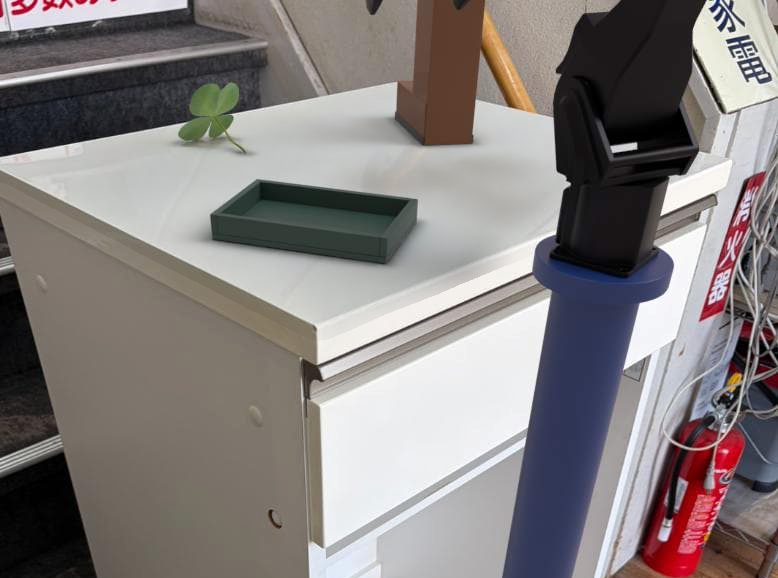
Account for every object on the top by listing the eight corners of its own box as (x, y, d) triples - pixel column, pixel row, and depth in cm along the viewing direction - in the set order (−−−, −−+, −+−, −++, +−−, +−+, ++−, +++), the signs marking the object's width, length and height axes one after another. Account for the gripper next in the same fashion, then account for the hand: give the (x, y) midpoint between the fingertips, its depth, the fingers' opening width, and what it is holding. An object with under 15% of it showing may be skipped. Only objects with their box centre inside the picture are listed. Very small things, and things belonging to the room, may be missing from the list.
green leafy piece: (227, 196, 90) (193, 151, 91) (283, 145, 89) (248, 100, 90) (199, 168, 83) (163, 120, 84) (259, 113, 82) (221, 64, 82)
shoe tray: (416, 222, 72) (418, 198, 70) (386, 264, 64) (387, 238, 63) (258, 202, 75) (256, 178, 73) (212, 239, 67) (209, 214, 66)
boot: (473, 143, 91) (488, -9, 82) (422, 145, 90) (432, -9, 81) (441, 116, 99) (451, -24, 90) (394, 118, 98) (400, -24, 89)
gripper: (529, -248, 68) (461, -54, 82) (323, -266, 61) (287, -50, 75) (594, -158, 65) (512, 27, 79) (386, -166, 58) (336, 39, 72)
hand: (414, 9), depth 76 cm, fingers open, 9 cm apart
